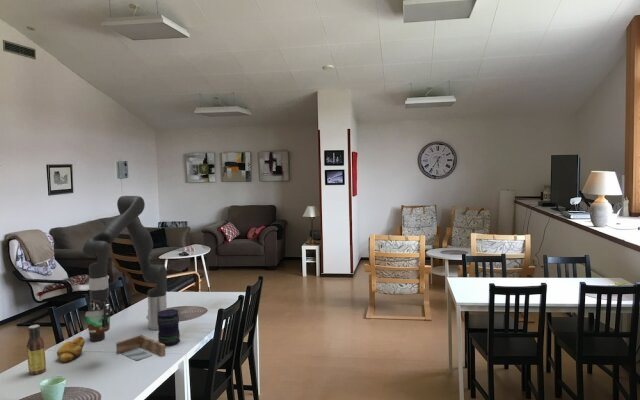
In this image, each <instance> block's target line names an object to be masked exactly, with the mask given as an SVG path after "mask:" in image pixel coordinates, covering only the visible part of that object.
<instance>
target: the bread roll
mask: <svg viewBox="0 0 640 400" xmlns="http://www.w3.org/2000/svg"><path fill="white" fill-rule="evenodd" d="M84 346H85V338H83V337H82V336H78V337H76V338H74V339H72V341H67V342H63V343H62V345H60V347H59V348H57V351H56V356H57V357H58V359H59V360H60V361H61V362H63V363H67V362H70V361H72V360H73V359H75V358H78V357H80V356H81V354H82V353H83V352H82V351H83V348H84Z"/></svg>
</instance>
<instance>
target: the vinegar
mask: <svg viewBox="0 0 640 400" xmlns="http://www.w3.org/2000/svg"><path fill="white" fill-rule="evenodd" d="M87 312H91V307H90V308H89V309H88V310H87ZM88 336H89V341H90V342H93V343H95V342H97V343H98V342H101V341H104V340H105V338H106V332H103V333H99V334H89V333H88Z"/></svg>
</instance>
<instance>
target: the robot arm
mask: <svg viewBox="0 0 640 400" xmlns="http://www.w3.org/2000/svg"><path fill="white" fill-rule="evenodd" d="M116 206H117V209H118V212H119V215H118V216H116V217H115V218H113V219H111V220H110V221H108V222H107V223H106V224H105V225H104V226H103V228H102V229H101V230H100V231H99V232H98V233H96V234H95V235H93V236H91V237H90V238H89V239H87V240H86V242H85V243H84V245H83V247H82V253H83V255H84V256H85V257H87V258H97V259H96V262H92V263H90V264H89V266H88V279H89V280H88V290H89V307H90V308H91V312H92V311H93V310H95V309H97V310H98V311H99V310H103V309H104V314H103V315H102V327H103V328H104V327H107V326H108V318H109V317H110V318H111V314H112V313H111V312H112V311H111V309H112V305H111V303H108V302H107V299H108V298H109V297H110V287H109V278H108V263H109V257H110V254H111V246H110V244H112V243H114V241H115V240H116V239H117V237H118V236H119V235H120V234H121V233H122V232H123V230H124V229H125V228H126V230H127V232H128V234H129V237H130V239H131V243H132V245H133V248H134V250H135V252H136V253H135V254H136V256H137V259H138V262H139V266H140V271H141V274H142V278H143V281H145V282H147V283H153V284H154V283H155V287H152V288H150V289H148V291H147V321H148V322H147V323H148V328H149V330H152V331H159V328H158V321H157V313H158V312H160V311H162V310H167V309H168V307H167V287H168V285H167V284H168V283H167V282H168V281H167V280H168V279H167V277H168V275H167V274H168V273H167V267H166V266H165V265H163V264H152V263H151V261H150V256H151V254H152V251H153V249H154V242H153V238H152V236H151V235H152V234H151V233H150V231H149V230H148V229H147V228H146V227H145V226H144V224H142V223H141V222H140V221H139V220H138V219H137V218H138V217H139V216H140V215H141V214H142V213H143V212H144V210H145V206H146V205H145V200H144V198H143V197H142V196H140V195H122V196H120V197H119V198H118V199H117V202H116ZM106 313H107V314H106Z"/></svg>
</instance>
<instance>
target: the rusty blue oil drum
mask: <svg viewBox="0 0 640 400" xmlns="http://www.w3.org/2000/svg"><path fill="white" fill-rule="evenodd" d="M179 319H180V316H179V310H178V309H174V308H172V309H171V308H170V309H168V308H167V310H162V311H160V312H158V313H157V321H158V328H159V330H158V333H157V338H158V342H160V343H162V344H165V348H167V347H173V346H176V345H179V343H180V342H181V341H180V339H181V338H180V336H181V335H180V329H179V328H180V327H179V325H180V324H179V323H180V320H179Z"/></svg>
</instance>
